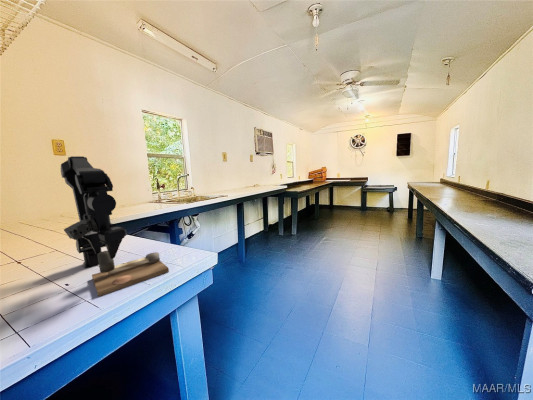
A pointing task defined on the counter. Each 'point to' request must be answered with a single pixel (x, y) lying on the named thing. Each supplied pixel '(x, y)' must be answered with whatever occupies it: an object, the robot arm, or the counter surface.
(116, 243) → the robot arm
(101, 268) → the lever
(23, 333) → the counter surface
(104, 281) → the board
